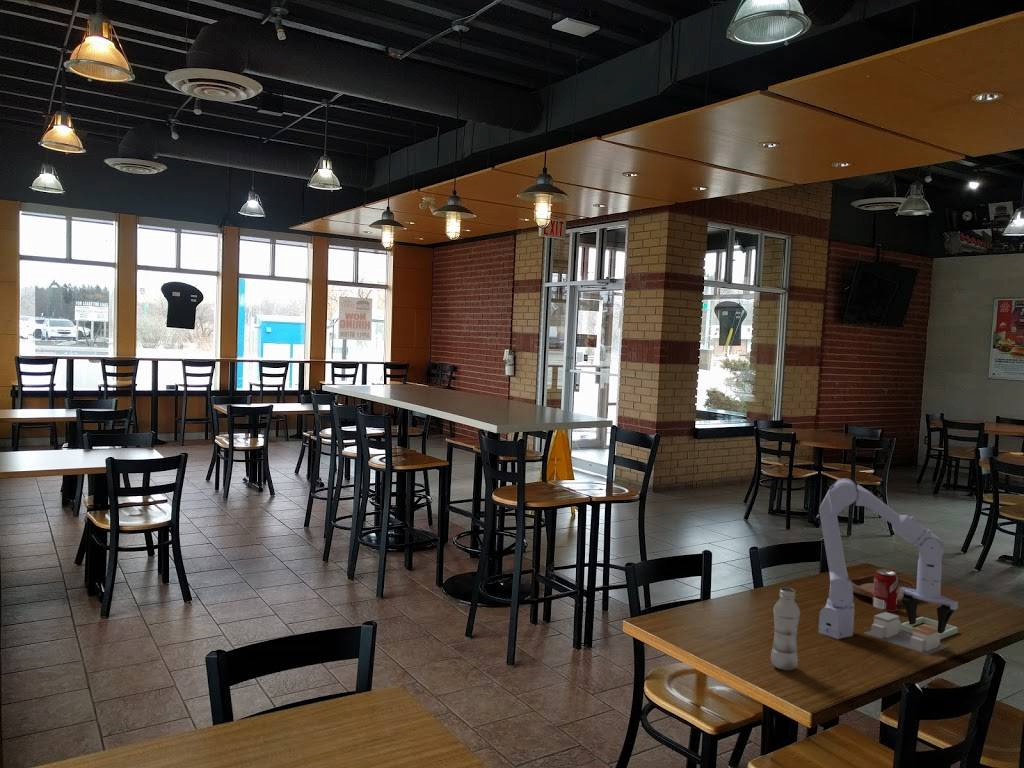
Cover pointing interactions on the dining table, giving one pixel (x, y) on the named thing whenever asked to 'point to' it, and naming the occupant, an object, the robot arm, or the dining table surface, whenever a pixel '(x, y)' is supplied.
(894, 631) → the block
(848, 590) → the robot arm
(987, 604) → the dining table surface
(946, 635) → the tray
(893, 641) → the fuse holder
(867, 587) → the basket
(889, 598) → the soda can
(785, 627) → the plastic bottle
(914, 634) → the block
